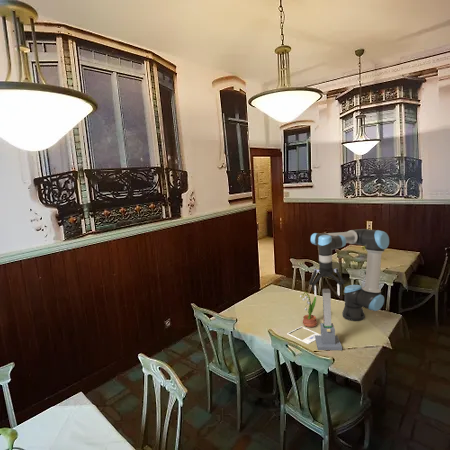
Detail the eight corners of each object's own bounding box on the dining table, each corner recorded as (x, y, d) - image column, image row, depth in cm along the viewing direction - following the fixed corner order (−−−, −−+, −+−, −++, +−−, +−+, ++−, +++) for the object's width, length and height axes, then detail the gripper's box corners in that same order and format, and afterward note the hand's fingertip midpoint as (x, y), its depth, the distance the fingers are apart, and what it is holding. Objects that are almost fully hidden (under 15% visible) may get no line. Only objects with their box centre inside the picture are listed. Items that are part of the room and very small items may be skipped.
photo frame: (308, 343, 200) (286, 333, 215) (308, 345, 201) (287, 334, 215) (322, 335, 209) (301, 325, 223) (323, 336, 209) (301, 327, 224)
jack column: (330, 327, 199) (329, 288, 195) (331, 330, 195) (330, 291, 191) (323, 327, 200) (322, 288, 196) (324, 330, 196) (323, 291, 192)
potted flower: (304, 330, 219) (303, 295, 215) (297, 323, 228) (296, 290, 224) (320, 326, 222) (319, 292, 218) (312, 320, 231) (311, 287, 227)
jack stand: (337, 338, 205) (337, 320, 203) (342, 350, 191) (341, 331, 189) (315, 338, 207) (314, 320, 205) (317, 350, 193) (317, 331, 192)
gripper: (346, 258, 193) (347, 292, 196) (303, 260, 197) (305, 293, 200) (349, 262, 185) (349, 296, 189) (304, 263, 189) (306, 297, 193)
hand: (326, 295), depth 194 cm, fingers open, 13 cm apart
